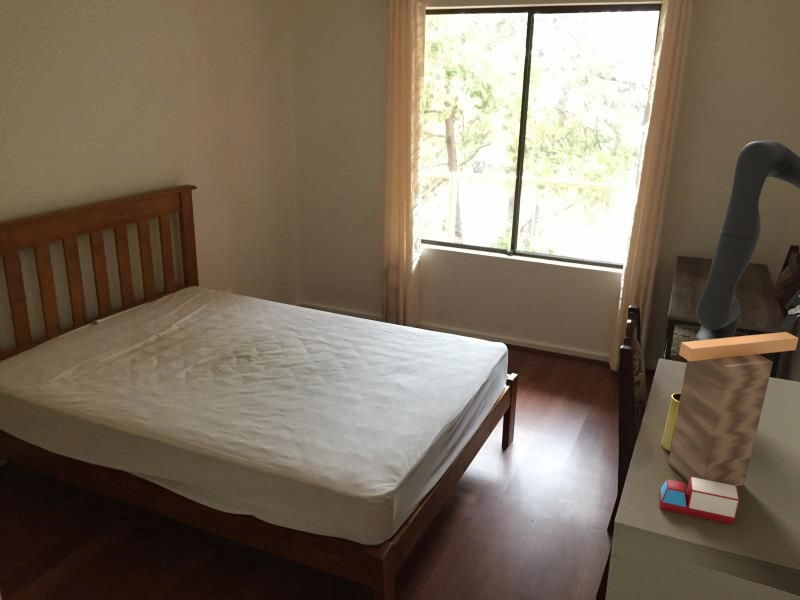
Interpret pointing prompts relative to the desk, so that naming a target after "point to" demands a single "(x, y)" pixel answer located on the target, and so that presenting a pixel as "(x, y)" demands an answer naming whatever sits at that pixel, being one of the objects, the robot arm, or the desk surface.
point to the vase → (671, 421)
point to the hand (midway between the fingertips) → (795, 338)
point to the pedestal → (719, 417)
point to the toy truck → (701, 499)
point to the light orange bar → (737, 346)
